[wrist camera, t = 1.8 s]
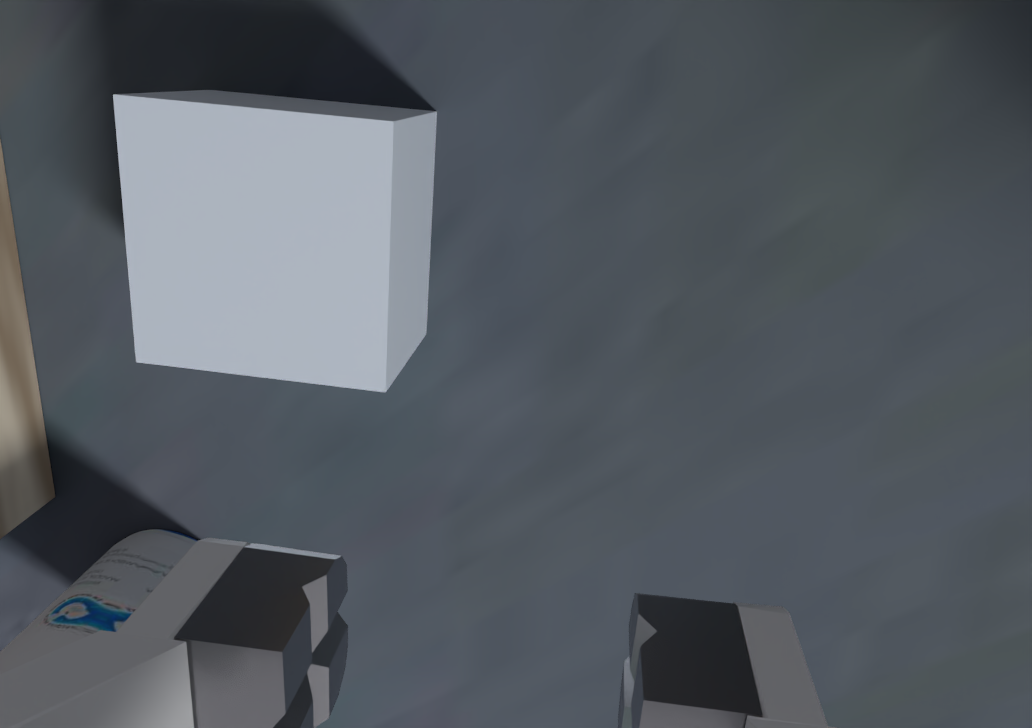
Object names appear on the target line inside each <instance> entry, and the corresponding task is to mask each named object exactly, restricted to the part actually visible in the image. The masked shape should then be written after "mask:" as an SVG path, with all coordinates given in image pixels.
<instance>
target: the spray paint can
mask: <svg viewBox="0 0 1032 728" xmlns="http://www.w3.org/2000/svg"><path fill="white" fill-rule="evenodd" d="M197 541H198V540H196V539H194V538H192V537H190V536H187V535H185V534H182V533H179V532H175V531H170V530H161V529H153V530H145V531H140V532H137V533H134V534H132V535H130V536H128V537H126V538H125V539H123V540H121V541H120V542H118V543H117V544H115V545H114V546H113V547H111V548H110V549H109V550H108V551H107V552H106V553H105V554H104V555H103V556H102V557H101V558H100V559H99V560H98V561H97V562H95V563H94V564H93V565H92V566H91V567H90V568H89V569H88V570H87V571H86V572H85V573H84V574H83V575H82V576H81V577H80V578H78V579H77V580H76V581H75V582H74V583H73V584H72V585H71V586H70V587H69V588H68V589H67V590H66V591H65V592H64V593H62V594H61V595H60V596H59V597H58V598H57V599H56V600H55V601H54V602H53V603H52V604H51V605H50V606H49V607H48V608H47V609H45V610H44V611H43V612H42V613H41V614H40V615H39V616H38V617H37V618H36V619H35V620H34V621H33V622H32V623H31V624H30V625H28V626H27V627H26V628H25V629H24V630H23V631H22V632H21V633H20V634H19V635H18V636H17V637H16V638H15V639H14V640H12V641H11V642H10V643H9V644H8V645H7V646H6V647H5V648H4V649H3V650H2V651H1V652H0V674H2V673H4V672H7V671H9V670H11V669H14V668H16V667H18V666H20V665H23V664H25V663H27V662H30V661H32V660H34V659H36V658H39V657H41V656H43V655H46V654H48V653H50V652H52V651H55V650H57V649H59V648H62V647H64V646H66V645H68V644H71V643H73V642H75V641H78V640H80V639H82V638H84V637H87V636H89V635H91V634H94V633H96V632H98V631H100V630H103V631H111V632H116V631H117V630H118V629H119V628H120V627H121V626H122V625H123V623H124V622H125V621H126V620H127V619H128V618H129V617H130V616H131V614H132V613H133V612H134V611H135V610H136V609H137V608H138V607H139V606H140V604H141V603H142V602H143V601H144V600H145V599H146V598H147V597H148V595H149V594H150V593H151V592H152V591H153V590H154V589H155V588H156V586H157V585H158V584H159V583H160V582H161V581H162V580H163V579H164V577H165V576H166V575H167V574H168V573H169V572H170V571H171V570H172V568H173V567H174V566H175V565H176V564H177V563H178V562H179V561H180V559H181V558H182V557H183V556H184V555H185V554H186V553H187V552H188V550H189V549H190V548H191V547H192V546H193V545H194V544H195V543H196V542H197Z"/></svg>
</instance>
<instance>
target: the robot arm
mask: <svg viewBox="0 0 1032 728" xmlns="http://www.w3.org/2000/svg"><path fill="white" fill-rule="evenodd" d="M347 591H348V587H347V564H346V562H345V561H344V559H343V557H342V556H339V555H332V554H325V553H318V552H311V551H304V550H297V549H290V548H283V547H276V546H269V545H262V544H255V543H253V544H250V543H248V542H241V541H232V540H224V539H216V538H205V539H202V540H198V541H197V542H196V543H195V544H194V545H193V546H192V547H191V548H190V549H189V550H188V552H187V553H186V554H185V555H184V556H183V557H182V558H181V559H180V561H179V562H178V563H177V564H176V565H175V566H174V567H173V568H172V570H171V571H170V572H169V573H168V574H167V575H166V576H165V577H164V579H163V580H162V581H161V582H160V583H159V584H158V585H157V586H156V588H155V589H154V590H153V591H152V592H151V593H150V594H149V595H148V597H147V598H146V599H145V600H144V601H143V602H142V603H141V604H140V606H139V607H138V608H137V609H136V610H135V611H134V612H133V613H132V614H131V616H130V617H129V618H128V619H127V620H126V621H125V622H124V623H123V625H122V626H121V627H120V628H119V629H118V630H117V631H116V632H111V631H103V630H100V631H98V632H96V633H94V634H91V635H89V636H87V637H84V638H82V639H80V640H78V641H75V642H73V643H71V644H68V645H66V646H64V647H62V648H59V649H57V650H55V651H52V652H50V653H48V654H46V655H43V656H41V657H39V658H36V659H34V660H32V661H30V662H27V663H25V664H23V665H20V666H18V667H16V668H14V669H11V670H9V671H7V672H4V673H2V674H0V728H315V727H316V726H318V725H319V724H321V723H322V722H324V721H325V720H327V719H328V718H329V717H330V715H331V712H332V710H333V707H334V705H335V703H336V700H337V698H338V695H339V691H340V687H341V683H342V679H343V675H344V671H345V666H346V657H347V648H348V625H347V624H346V623H345V621H344V620H343V619H342V617H341V616H340V615H339V613H338V612H337V611H338V609H339V607H340V605H341V603H342V601H343V599H344V597H345V595H346V593H347ZM629 655H630V656H629V657H628V658H627V659H626V660H625V661H624V665H623V673H622V682H621V691H620V701H619V712H618V728H835V727H828V725H827V722H826V719H825V716H824V713H823V710H822V707H821V704H820V701H819V698H818V695H817V693H816V690H815V687H814V684H813V681H812V678H811V675H810V672H809V669H808V666H807V663H806V660H805V657H804V655H803V652H802V649H801V646H800V643H799V640H798V637H797V634H796V631H795V628H794V625H793V622H792V620H791V617H790V614H789V612H788V611H787V610H786V609H784V608H783V607H780V606H768V605H757V604H746V603H735V602H733V603H724V602H714V601H705V600H696V599H687V598H677V597H668V596H659V595H650V594H640V593H635V594H634V599H633V603H632V608H631V615H630V622H629Z"/></svg>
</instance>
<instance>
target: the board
mask: <svg viewBox="0 0 1032 728" xmlns="http://www.w3.org/2000/svg"><path fill="white" fill-rule="evenodd" d="M54 497H55V491H54V484H53V478H52V471H51V465H50V458H49V452H48V445H47V439H46V432H45V426H44V419H43V413H42V406H41V400H40V393H39V387H38V380H37V374H36V367H35V361H34V354H33V348H32V342H31V335H30V329H29V322H28V316H27V309H26V303H25V296H24V290H23V283H22V277H21V270H20V264H19V257H18V251H17V244H16V238H15V231H14V225H13V218H12V212H11V205H10V199H9V192H8V186H7V179H6V173H5V166H4V160H3V153H2V147H1V140H0V539H1V538H2V537H4V536H5V535H6V534H7V533H9V532H10V531H11V530H13V529H14V528H15V527H17V526H18V525H19V524H20V523H22V522H23V521H24V520H26V519H27V518H28V517H30V516H31V515H32V514H34V513H35V512H36V511H37V510H39V509H40V508H41V507H43V506H44V505H45V504H47V503H48V502H49V501H50V500H52V499H53V498H54Z"/></svg>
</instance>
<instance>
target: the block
mask: <svg viewBox="0 0 1032 728" xmlns="http://www.w3.org/2000/svg"><path fill="white" fill-rule="evenodd" d="M113 102H114V113H115V125H116V136H117V148H118V159H119V171H120V182H121V194H122V205H123V217H124V228H125V240H126V251H127V263H128V274H129V286H130V297H131V309H132V320H133V332H134V343H135V355H136V362H140V363H148V364H156V365H164V366H173V367H181V368H189V369H197V370H206V371H214V372H222V373H230V374H238V375H247V376H255V377H263V378H271V379H279V380H288V381H296V382H304V383H312V384H320V385H329V386H337V387H345V388H353V389H362V390H370V391H378V392H386V391H387V390H388V388H389V387H390V385H391V384H392V383H393V381H394V380H395V378H396V377H397V375H398V374H399V372H400V371H401V370H402V368H403V367H404V365H405V364H406V362H407V361H408V360H409V358H410V357H411V355H412V354H413V352H414V351H415V350H416V348H417V347H418V345H419V344H420V342H421V341H422V339H423V338H424V337H425V335H426V329H427V308H428V287H429V266H430V245H431V224H432V203H433V182H434V161H435V140H436V119H437V111H428V110H417V109H407V108H396V107H386V106H375V105H365V104H354V103H344V102H333V101H323V100H312V99H302V98H291V97H281V96H270V95H260V94H249V93H239V92H228V91H218V90H194V91H173V92H152V93H130V94H113Z"/></svg>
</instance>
